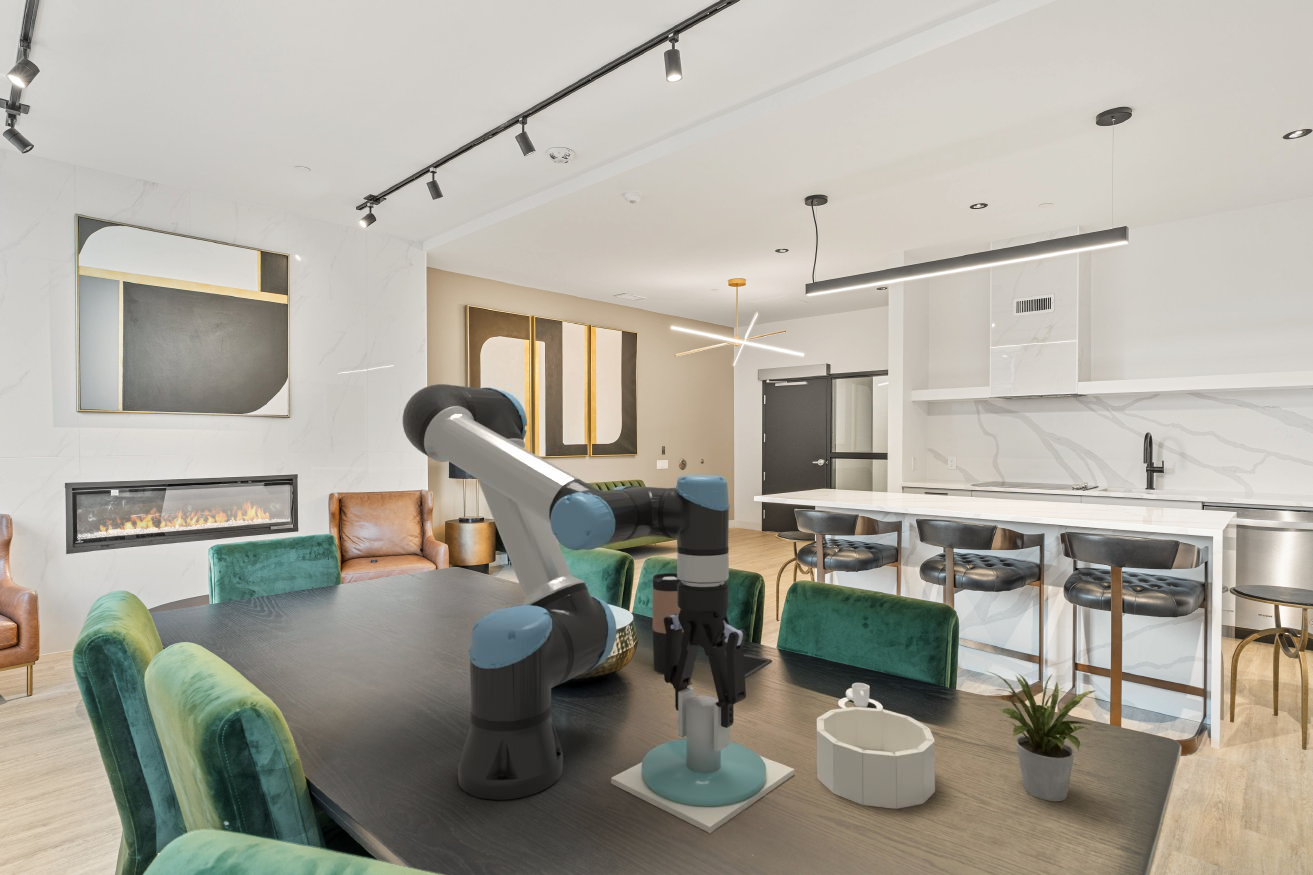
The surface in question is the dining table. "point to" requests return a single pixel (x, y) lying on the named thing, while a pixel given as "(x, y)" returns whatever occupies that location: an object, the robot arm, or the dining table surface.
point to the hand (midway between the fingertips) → (703, 740)
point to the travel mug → (663, 614)
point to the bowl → (875, 757)
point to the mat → (700, 815)
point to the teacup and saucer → (859, 696)
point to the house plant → (1044, 743)
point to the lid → (703, 764)
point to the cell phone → (754, 664)
